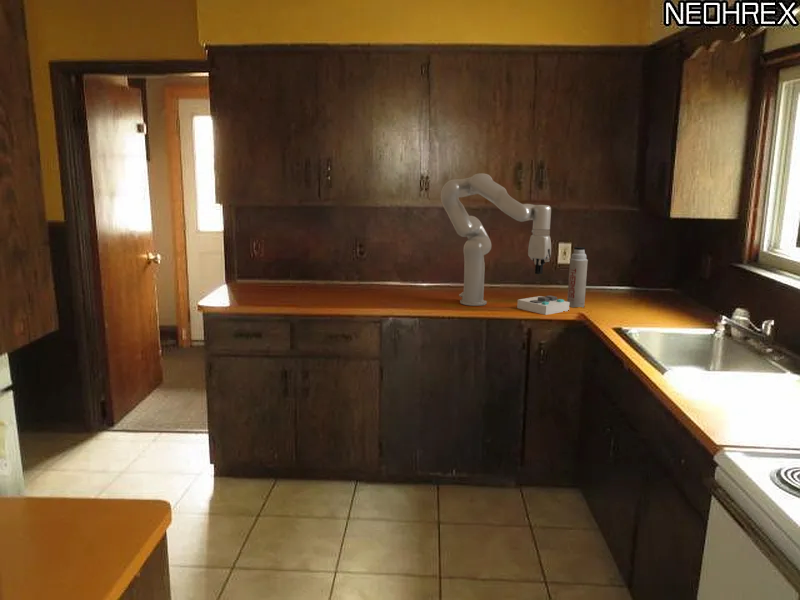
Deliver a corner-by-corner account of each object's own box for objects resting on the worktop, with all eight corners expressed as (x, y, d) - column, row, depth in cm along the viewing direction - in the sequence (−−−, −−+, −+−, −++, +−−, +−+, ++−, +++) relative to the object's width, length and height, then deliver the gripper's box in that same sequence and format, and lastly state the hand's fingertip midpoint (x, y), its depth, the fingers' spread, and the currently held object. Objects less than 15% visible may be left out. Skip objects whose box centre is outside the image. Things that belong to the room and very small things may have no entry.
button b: (537, 304, 304) (537, 297, 303) (542, 303, 306) (542, 296, 305) (544, 306, 301) (544, 298, 300) (549, 305, 302) (549, 298, 302)
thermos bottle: (573, 308, 307) (577, 248, 301) (563, 304, 314) (567, 246, 309) (587, 307, 310) (592, 247, 304) (577, 303, 317) (581, 245, 312)
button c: (544, 303, 307) (545, 296, 306) (549, 302, 309) (549, 295, 308) (552, 305, 304) (552, 297, 303) (556, 304, 306) (557, 296, 305)
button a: (529, 308, 301) (530, 300, 300) (534, 307, 303) (534, 299, 302) (536, 309, 298) (537, 302, 297) (541, 309, 300) (541, 301, 299)
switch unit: (517, 308, 305) (517, 297, 304) (540, 304, 315) (541, 293, 314) (545, 314, 292) (546, 303, 291) (569, 310, 302) (569, 299, 301)
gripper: (522, 231, 298) (520, 272, 301) (548, 235, 286) (545, 276, 289) (534, 231, 302) (532, 270, 306) (559, 234, 290) (557, 275, 294)
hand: (538, 273), depth 298 cm, fingers closed
